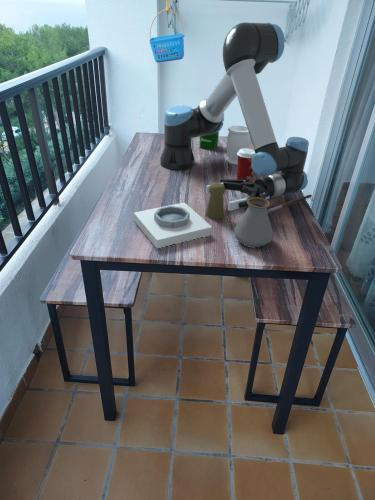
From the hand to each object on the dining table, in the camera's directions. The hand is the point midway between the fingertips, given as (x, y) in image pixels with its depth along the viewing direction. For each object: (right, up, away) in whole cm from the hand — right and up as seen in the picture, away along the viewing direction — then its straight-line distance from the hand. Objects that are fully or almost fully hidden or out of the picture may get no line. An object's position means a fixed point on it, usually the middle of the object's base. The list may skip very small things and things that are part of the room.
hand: (217, 197), depth 117 cm
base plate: (-15, -10, -5) cm, 18 cm away
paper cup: (+12, +8, +25) cm, 29 cm away
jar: (+13, +23, +48) cm, 54 cm away
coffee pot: (+15, -14, -9) cm, 22 cm away
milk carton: (+1, +34, +64) cm, 73 cm away
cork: (0, -5, +4) cm, 7 cm away
